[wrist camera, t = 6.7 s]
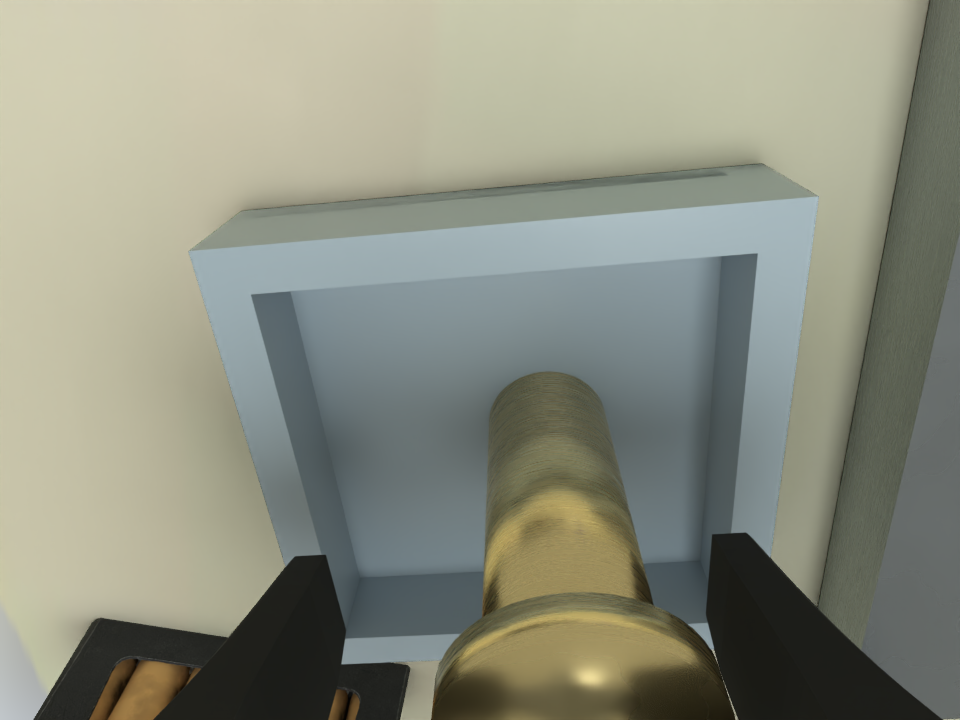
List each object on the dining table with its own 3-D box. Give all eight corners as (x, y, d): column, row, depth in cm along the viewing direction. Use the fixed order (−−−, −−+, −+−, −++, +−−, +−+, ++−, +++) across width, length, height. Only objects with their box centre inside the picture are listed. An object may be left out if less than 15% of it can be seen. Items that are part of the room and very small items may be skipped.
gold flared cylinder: (632, 485, 18) (726, 828, 11) (471, 494, 18) (448, 833, 11) (633, 339, 16) (749, 631, 9) (452, 353, 16) (408, 646, 9)
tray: (725, 564, 20) (758, 647, 18) (339, 583, 21) (315, 664, 19) (762, 163, 15) (819, 196, 12) (241, 210, 16) (188, 251, 13)
